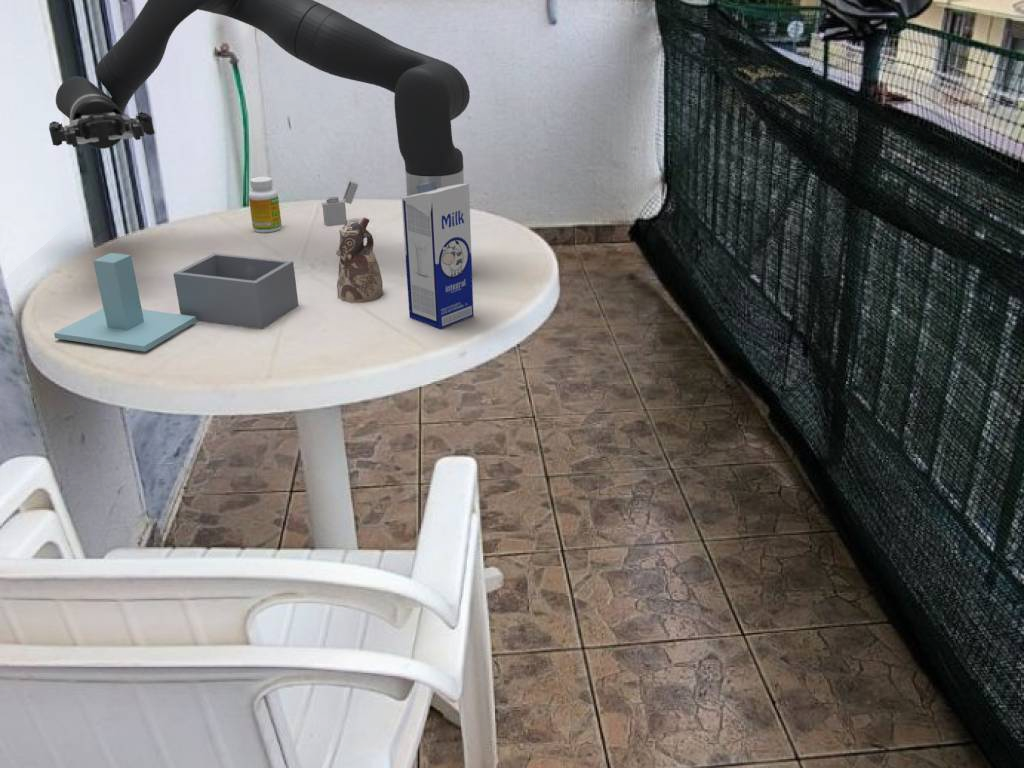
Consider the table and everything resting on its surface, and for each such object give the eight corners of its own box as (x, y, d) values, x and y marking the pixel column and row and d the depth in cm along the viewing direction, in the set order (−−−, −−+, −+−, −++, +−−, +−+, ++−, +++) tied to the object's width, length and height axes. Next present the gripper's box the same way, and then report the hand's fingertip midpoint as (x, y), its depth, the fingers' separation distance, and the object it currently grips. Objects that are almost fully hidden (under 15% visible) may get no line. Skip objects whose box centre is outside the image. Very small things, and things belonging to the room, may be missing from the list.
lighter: (326, 226, 182) (322, 185, 179) (324, 224, 184) (319, 183, 180) (361, 221, 185) (358, 181, 182) (359, 219, 187) (355, 179, 183)
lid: (196, 321, 138) (184, 250, 133) (145, 351, 128) (130, 276, 123) (110, 309, 142) (96, 241, 138) (55, 338, 133) (37, 265, 128)
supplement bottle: (278, 233, 179) (271, 182, 175) (250, 233, 179) (242, 182, 175) (284, 225, 184) (278, 175, 179) (257, 225, 184) (250, 175, 180)
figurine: (329, 293, 149) (321, 219, 144) (368, 283, 153) (362, 211, 147) (351, 306, 144) (344, 230, 138) (391, 295, 148) (386, 221, 142)
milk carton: (439, 329, 135) (432, 191, 126) (408, 318, 139) (399, 183, 130) (474, 315, 139) (470, 181, 131) (443, 305, 144) (437, 174, 135)
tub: (298, 304, 144) (293, 261, 141) (262, 328, 136) (255, 283, 133) (220, 295, 149) (214, 253, 146) (181, 318, 140) (173, 273, 137)
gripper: (41, 100, 144) (45, 114, 131) (139, 91, 150) (152, 103, 136) (54, 149, 147) (58, 168, 134) (148, 138, 153) (162, 155, 140)
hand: (106, 136), depth 135 cm, fingers open, 8 cm apart
